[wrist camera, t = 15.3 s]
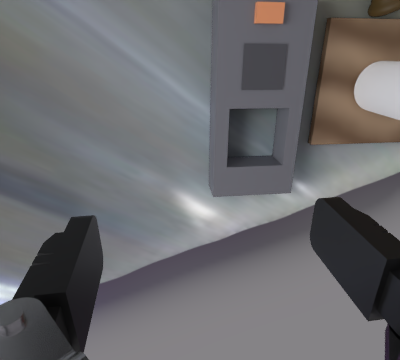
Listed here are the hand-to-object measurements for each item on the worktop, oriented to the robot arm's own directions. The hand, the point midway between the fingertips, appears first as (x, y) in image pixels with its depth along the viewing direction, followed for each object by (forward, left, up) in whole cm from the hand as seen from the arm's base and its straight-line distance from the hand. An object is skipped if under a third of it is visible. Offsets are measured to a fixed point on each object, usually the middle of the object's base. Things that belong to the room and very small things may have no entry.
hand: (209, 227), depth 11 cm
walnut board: (-2, +27, -31) cm, 41 cm away
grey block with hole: (0, +10, -31) cm, 33 cm away
